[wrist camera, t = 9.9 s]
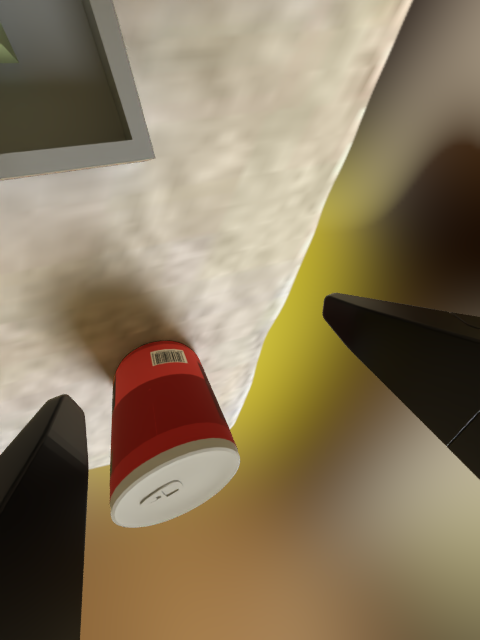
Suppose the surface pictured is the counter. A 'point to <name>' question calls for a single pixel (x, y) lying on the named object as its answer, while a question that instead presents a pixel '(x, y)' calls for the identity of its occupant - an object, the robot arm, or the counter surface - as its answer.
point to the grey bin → (67, 90)
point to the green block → (6, 49)
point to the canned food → (165, 436)
